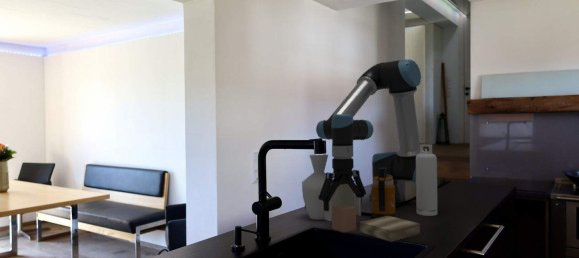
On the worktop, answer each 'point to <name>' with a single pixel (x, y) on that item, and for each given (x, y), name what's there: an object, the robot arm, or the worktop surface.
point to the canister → (383, 195)
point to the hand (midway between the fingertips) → (343, 217)
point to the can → (344, 195)
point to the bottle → (426, 182)
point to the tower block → (344, 218)
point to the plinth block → (389, 228)
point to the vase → (316, 188)
